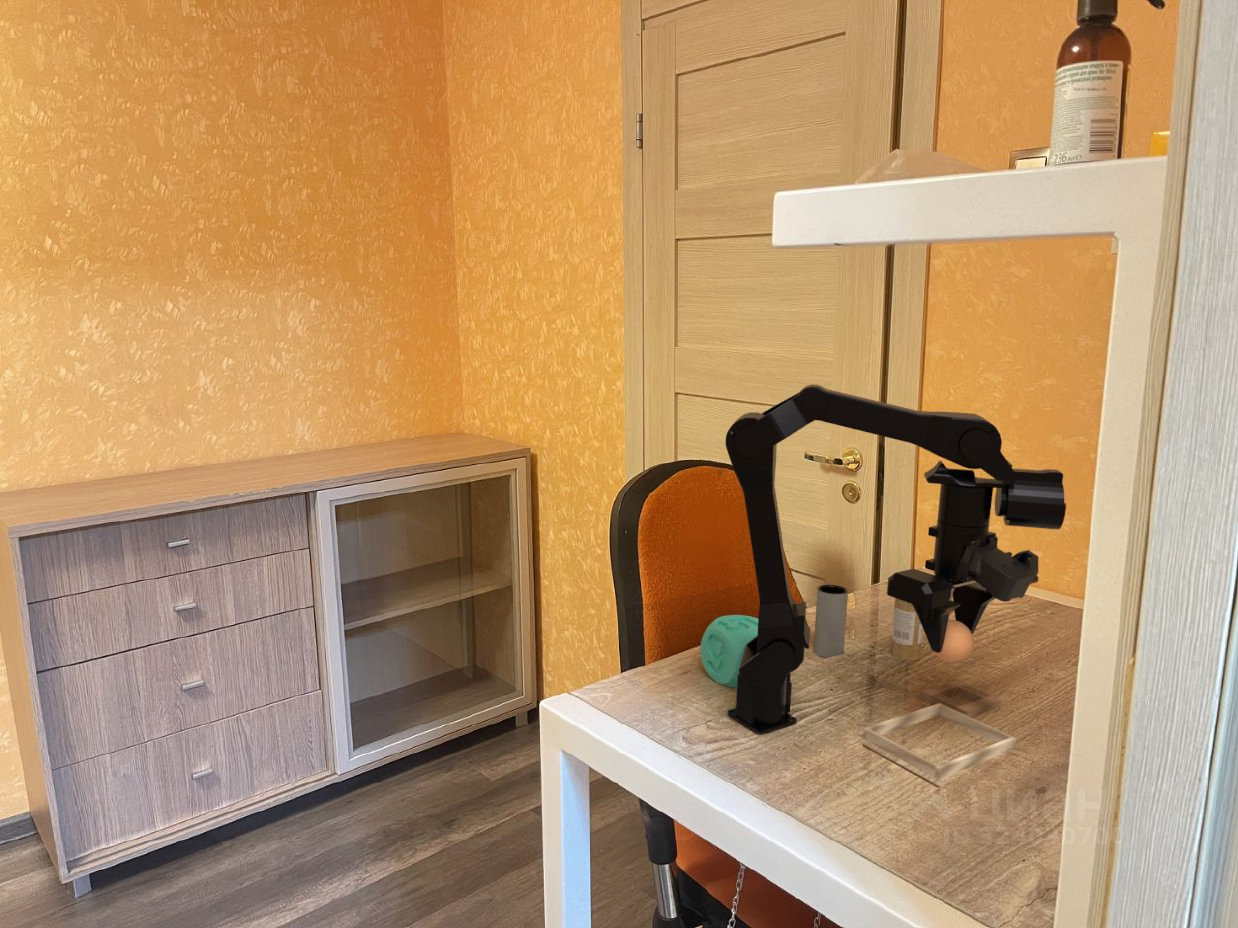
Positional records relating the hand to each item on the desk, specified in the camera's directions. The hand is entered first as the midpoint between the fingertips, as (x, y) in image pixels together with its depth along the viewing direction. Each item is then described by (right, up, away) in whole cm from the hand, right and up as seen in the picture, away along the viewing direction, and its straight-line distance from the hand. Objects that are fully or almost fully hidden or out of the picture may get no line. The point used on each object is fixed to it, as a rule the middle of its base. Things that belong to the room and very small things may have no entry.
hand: (950, 647), depth 107 cm
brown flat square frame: (+5, -11, +11) cm, 16 cm away
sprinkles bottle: (+3, -8, +27) cm, 29 cm away
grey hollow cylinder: (-8, -7, +30) cm, 32 cm away
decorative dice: (-23, -9, +20) cm, 32 cm away
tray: (-2, -12, 0) cm, 13 cm away
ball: (0, -2, 0) cm, 2 cm away
